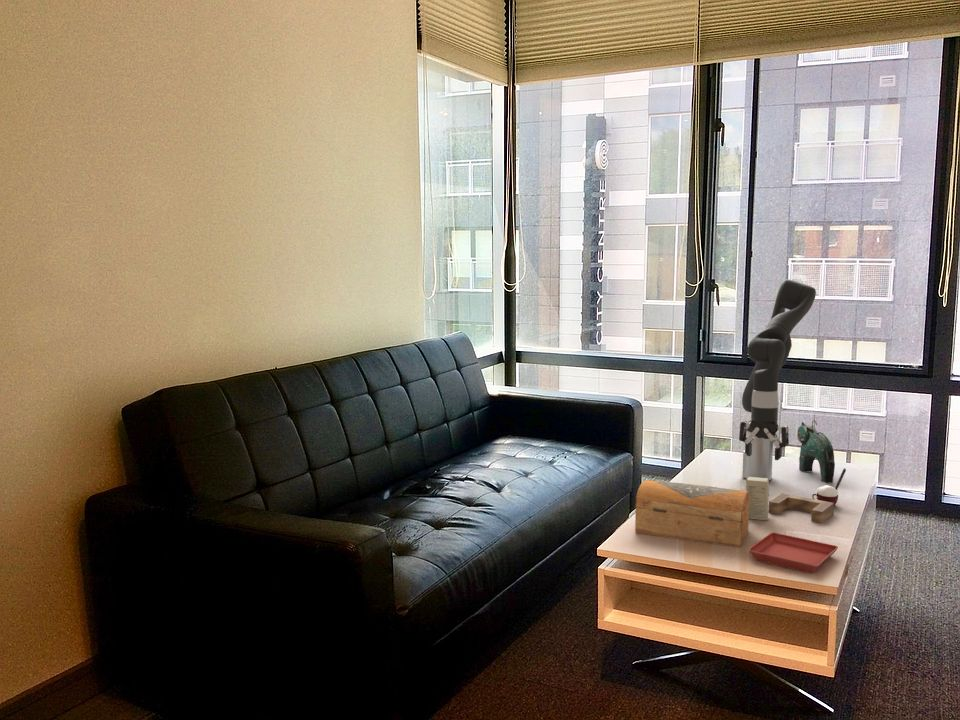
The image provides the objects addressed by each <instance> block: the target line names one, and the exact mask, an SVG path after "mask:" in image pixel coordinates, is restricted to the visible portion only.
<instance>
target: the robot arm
mask: <svg viewBox="0 0 960 720" xmlns="http://www.w3.org/2000/svg"><path fill="white" fill-rule="evenodd" d="M816 294H817V291H816V288H814V287H813V286H811V285H808V284H806V283H803V282H800V281H796V280H793V279H787V278H786V279H784V280H783V281H782V283H781V284H780V286H779V289H778V291H777V295H776V298H775V302H774V305H773V310H772V313H771V316H770V321H769V322H768V324H767V325H766V327H765V329H763V330H762V331H760V332H759V333H757V334H756V335H755V336H754V337H752V338H751V340H750V342H749V343H748V346H747V348H746V349H747V350H746V351H747V352H746V353H747V356H748V359H750V360H751V361H753V362H755V365H754V366H753V370H752V372H751V375H750V377H749V379H748V381H747V383H746V385H745V387H744V390H743V393H742V397H741V405H742V408H743V409H744V411H746V412H747V413H751V415H750V416H751V417H750V420H748V421H747V420H744V421H741V422H740V424H739V436H738V440H739V441H740V442H743V443H744V445H745V446H744V447H745V448H744V450H743V453H742V473H741V474H742V476H741V477H742V478H745V479H746V480H747V478H748V477H759V478H769V481H771V480H772V477H773V458H774V460H775V461H779V460H780V459H781V458H782V456H783V455H782V453H783V452H782V449H783V448H786V447H788V446H789V445H790V440H789V439H790V437H789V434H790V433H789V426H788V425H785V426H784V425H783V426H782V425H781V426H779V425H778V424H779V423H778V417H779V416H778V414H779V403H780V402H779V393H778V392H779V390H778V386H779V375H780V370H781V369H782V367H783V366H784V365H785V364H786V362H787V360H788V357H789V355H790V352H791V349H792V345H793V343H792V339H791V333H792V331H793V330H794V328H795V327H796V326H797V325H798V323H800V321H801V320H803V318H804V317H805V316H806V315H807V314H808V312H809V311H810V309H811V308H812V306H813V305H814V302H815V298H816ZM786 310H787V311H786ZM778 431H779V434H780V435H781V440H780V437H779V436H778V434H777V432H778ZM774 446H775V448H774ZM773 452H774V453H773ZM773 454H774V455H773ZM773 456H774V457H773Z"/></svg>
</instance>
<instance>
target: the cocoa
mask: <svg viewBox="0 0 960 720" xmlns="http://www.w3.org/2000/svg"><path fill="white" fill-rule="evenodd" d="M846 471H847V469H846V468H845V467H844V468H843V469H842V471H841V473H840V476H839V477H838V480H837V483H836V484H835V486H834V487H833V486H831V485H828V484H827V485H826V484H825V485H822V486H819V487H817V489H816V492H817V493H813V494H812V495H811V496H812V498H811V499H815V496H816V498H817V499H816V500H821V501H827V502H832V503H834V506H836V504H837V503H838V499H839V487H840V484H841V482H842V480H843V477H844V476H845V474H846Z"/></svg>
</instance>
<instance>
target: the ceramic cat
mask: <svg viewBox="0 0 960 720" xmlns="http://www.w3.org/2000/svg"><path fill="white" fill-rule="evenodd" d="M814 423H815V425H816V426H818V423H817V421H816V420H815V419H813V420H812V422H811V425H807V424H805V422H803V421H802V422H801V425H800V426H799V427H798V428H797V436H796V439H797V440H798V441H799V442H800V443H801V445H800V451H799V457H798V460H799V465H798V467H799V468H798V470H799V469H800V470H799V471H801V470H802V471H801V472H803V471H812V472H813V465H814V461H815V459H816V460H817V462H818V465H819V469H820V470H819V472H820V479H821V483H824V482H825V484H830V483H831V484H832V483H833V482H834V476H835V468H836V463H835V452H834V448H833V445H832V443H831V440H830V439H829V437H827V435H825V433H823V432H818V431H817V429H816V427H815V426H814V425H813V424H814ZM829 482H830V483H829Z"/></svg>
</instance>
